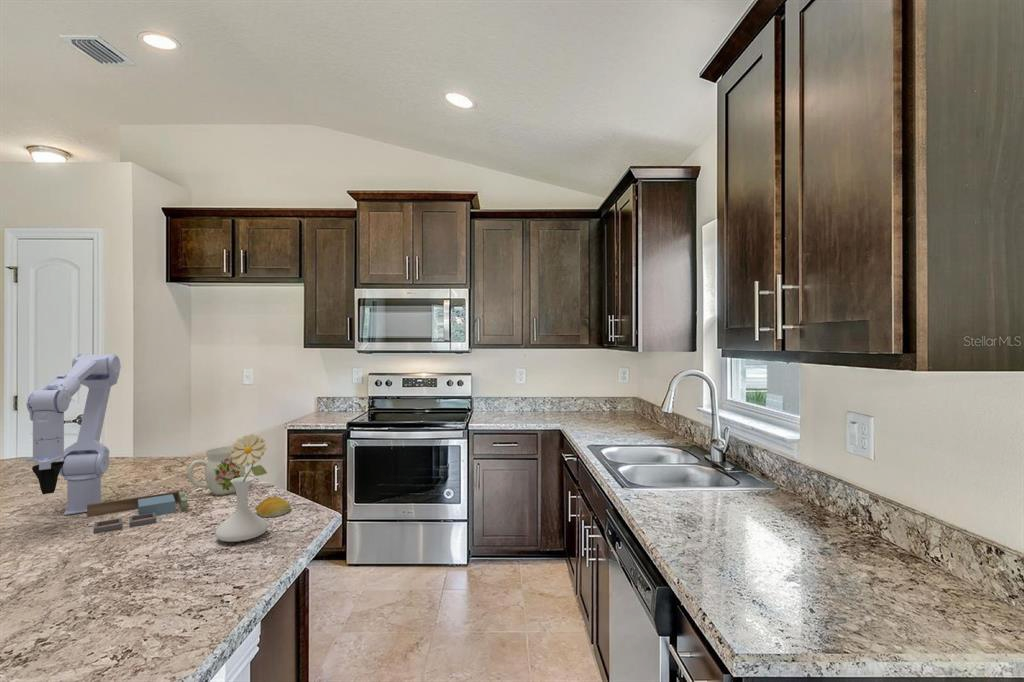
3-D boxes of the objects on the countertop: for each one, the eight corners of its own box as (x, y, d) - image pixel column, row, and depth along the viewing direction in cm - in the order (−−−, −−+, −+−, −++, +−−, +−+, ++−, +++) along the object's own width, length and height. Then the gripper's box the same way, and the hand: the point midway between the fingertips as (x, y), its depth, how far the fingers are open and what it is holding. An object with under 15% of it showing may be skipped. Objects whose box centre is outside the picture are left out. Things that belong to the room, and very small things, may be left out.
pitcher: (184, 494, 156) (184, 449, 156) (248, 483, 168) (248, 441, 168) (191, 502, 148) (191, 455, 148) (257, 490, 160) (258, 447, 160)
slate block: (137, 511, 141) (138, 499, 141) (172, 506, 146) (172, 494, 146) (139, 519, 135) (139, 506, 135) (175, 513, 139) (175, 500, 139)
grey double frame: (94, 527, 128) (94, 522, 128) (155, 516, 136) (155, 512, 136) (93, 533, 124) (93, 528, 124) (156, 522, 131) (156, 518, 131)
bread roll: (263, 521, 133) (263, 505, 133) (253, 512, 140) (253, 497, 140) (295, 513, 139) (295, 499, 139) (284, 506, 146) (284, 492, 146)
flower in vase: (203, 542, 118) (203, 435, 118) (244, 525, 129) (244, 427, 129) (245, 550, 114) (245, 439, 114) (284, 532, 125) (284, 430, 125)
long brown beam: (87, 515, 137) (87, 504, 137) (183, 500, 150) (183, 490, 150) (84, 528, 127) (84, 516, 127) (186, 510, 141) (186, 500, 141)
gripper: (30, 435, 129) (30, 489, 129) (21, 444, 117) (21, 503, 117) (67, 432, 133) (67, 484, 133) (62, 441, 122) (61, 497, 122)
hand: (48, 493), depth 126 cm, fingers closed
